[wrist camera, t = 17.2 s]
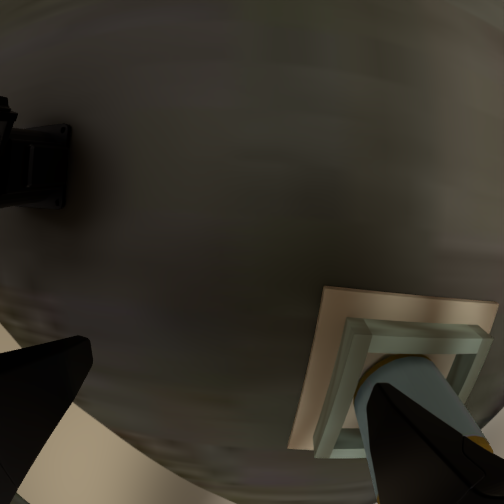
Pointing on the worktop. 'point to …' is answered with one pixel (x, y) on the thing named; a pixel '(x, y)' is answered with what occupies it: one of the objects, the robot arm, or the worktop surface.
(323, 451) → the square rimmed tray
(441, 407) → the bottle
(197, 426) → the worktop surface
